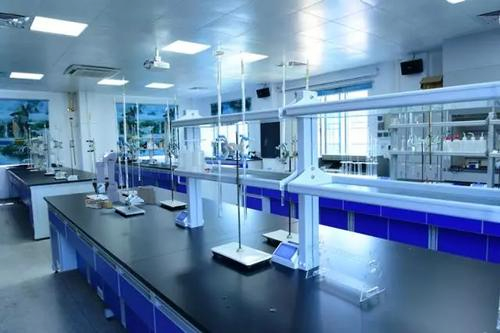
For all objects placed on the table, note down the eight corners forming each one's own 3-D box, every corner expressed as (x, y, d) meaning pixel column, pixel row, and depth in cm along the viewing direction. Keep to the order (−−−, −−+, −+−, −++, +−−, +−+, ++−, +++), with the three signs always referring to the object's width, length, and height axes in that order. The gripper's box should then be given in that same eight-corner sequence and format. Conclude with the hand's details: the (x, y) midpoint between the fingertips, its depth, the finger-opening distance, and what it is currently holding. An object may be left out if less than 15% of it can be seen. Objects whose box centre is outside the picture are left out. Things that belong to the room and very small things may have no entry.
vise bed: (101, 203, 299) (100, 198, 298) (112, 205, 290) (112, 199, 290) (85, 206, 287) (85, 201, 286) (97, 208, 278) (96, 202, 278)
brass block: (108, 206, 285) (108, 200, 285) (112, 207, 282) (111, 201, 282) (104, 207, 282) (103, 201, 281) (107, 208, 279) (107, 202, 279)
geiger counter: (156, 187, 293) (136, 185, 306) (150, 188, 288) (130, 186, 301) (157, 203, 294) (137, 200, 308) (151, 204, 289) (131, 202, 302)
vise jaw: (95, 201, 301) (95, 197, 301) (101, 202, 296) (101, 198, 296) (82, 203, 291) (82, 200, 291) (88, 204, 286) (88, 201, 286)
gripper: (92, 174, 272) (92, 192, 271) (111, 174, 281) (111, 191, 280) (90, 175, 277) (90, 192, 276) (108, 175, 286) (109, 191, 285)
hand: (100, 192), depth 278 cm, fingers open, 7 cm apart
